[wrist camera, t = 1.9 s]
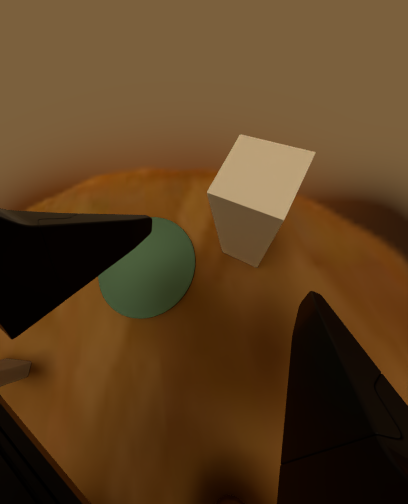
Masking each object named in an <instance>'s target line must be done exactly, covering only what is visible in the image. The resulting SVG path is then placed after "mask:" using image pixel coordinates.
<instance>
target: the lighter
mask: <svg viewBox="0 0 408 504" xmlns="http://www.w3.org/2000/svg"><path fill="white" fill-rule="evenodd" d="M30 366H31V361H25V360H16V359H7V358H6V359H2V360H0V386H3V385H6V384H9V383H12V382H15V381H18V380H20V379H23V378H26V377H27V376H28V374H29V370H30Z"/></svg>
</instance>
